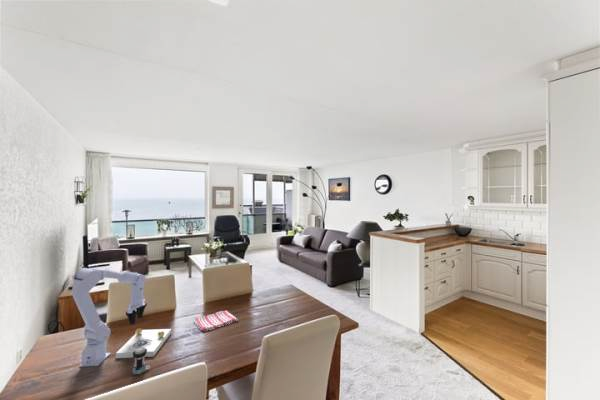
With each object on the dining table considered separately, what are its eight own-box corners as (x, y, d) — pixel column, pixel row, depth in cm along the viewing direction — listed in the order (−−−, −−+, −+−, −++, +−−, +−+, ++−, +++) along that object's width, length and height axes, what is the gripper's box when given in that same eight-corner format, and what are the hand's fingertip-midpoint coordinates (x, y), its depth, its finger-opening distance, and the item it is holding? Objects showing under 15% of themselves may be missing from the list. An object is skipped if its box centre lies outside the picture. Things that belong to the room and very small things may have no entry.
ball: (143, 345, 127) (147, 340, 130) (137, 344, 127) (141, 340, 130) (143, 350, 127) (147, 346, 130) (137, 350, 127) (141, 346, 130)
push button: (149, 366, 115) (150, 344, 115) (149, 372, 111) (150, 350, 111) (132, 370, 112) (133, 347, 112) (131, 377, 107) (132, 354, 108)
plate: (153, 356, 122) (153, 351, 122) (115, 358, 120) (116, 353, 120) (171, 333, 144) (171, 328, 144) (139, 334, 142) (139, 329, 142)
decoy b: (162, 338, 134) (162, 332, 134) (156, 339, 133) (156, 333, 133) (165, 335, 137) (165, 329, 137) (158, 335, 136) (159, 329, 136)
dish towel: (192, 322, 158) (192, 317, 158) (227, 312, 174) (227, 307, 174) (202, 333, 146) (202, 327, 146) (239, 322, 161) (239, 316, 161)
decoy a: (140, 335, 136) (140, 329, 136) (134, 336, 136) (134, 330, 136) (143, 332, 139) (143, 327, 139) (137, 333, 139) (137, 327, 139)
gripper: (138, 300, 131) (137, 327, 131) (151, 291, 145) (150, 314, 145) (123, 301, 130) (122, 327, 130) (138, 291, 144) (137, 315, 144)
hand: (136, 320), depth 137 cm, fingers open, 7 cm apart
